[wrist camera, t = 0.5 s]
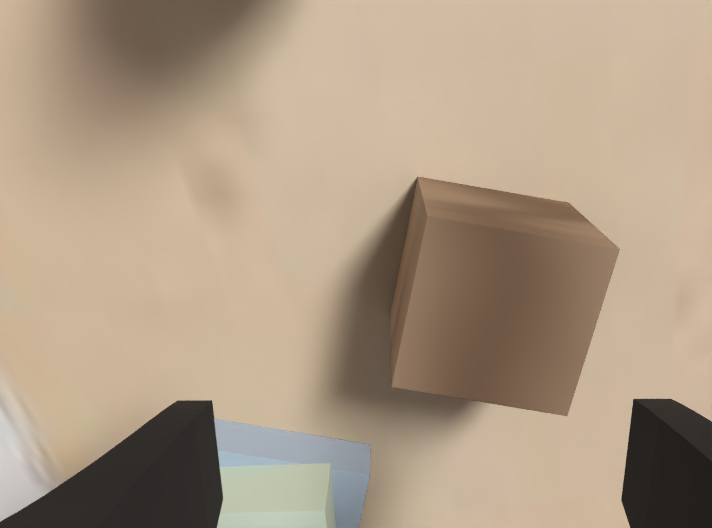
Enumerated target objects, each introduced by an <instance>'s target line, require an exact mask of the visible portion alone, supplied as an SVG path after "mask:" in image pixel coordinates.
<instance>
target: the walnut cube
mask: <svg viewBox="0 0 712 528" xmlns="http://www.w3.org/2000/svg"><path fill="white" fill-rule="evenodd" d="M619 250H620V249H619V248H618V247H617V246H616V245H615V244H614V243H613V242H611V241H610V240H609V239H608V238H607V237H606V236H605V235H604V234H603V233H602V232H600V231H599V230H598V229H597V228H596V227H595V226H594V225H593V224H592V223H590V222H589V221H588V220H587V219H586V218H585V217H584V216H583V215H582V214H581V213H579V212H578V211H577V210H576V209H575V208H574V207H573V206H572V205H571V204H569V203H567V202H561V201H555V200H550V199H544V198H538V197H532V196H526V195H521V194H515V193H509V192H503V191H497V190H492V189H486V188H480V187H474V186H468V185H463V184H457V183H451V182H445V181H439V180H434V179H428V178H422V177H417V182H416V187H415V192H414V197H413V202H412V207H411V212H410V217H409V222H408V227H407V232H406V237H405V242H404V247H403V252H402V257H401V262H400V267H399V272H398V277H397V282H396V287H395V292H394V297H393V302H392V307H391V312H390V348H391V383H392V387H395V388H401V389H407V390H413V391H419V392H425V393H431V394H437V395H443V396H449V397H455V398H461V399H467V400H473V401H479V402H485V403H491V404H497V405H503V406H509V407H515V408H521V409H527V410H533V411H539V412H545V413H551V414H557V415H563V416H567V415H568V412H569V409H570V406H571V402H572V399H573V396H574V393H575V390H576V386H577V383H578V380H579V377H580V374H581V371H582V367H583V364H584V361H585V358H586V355H587V352H588V348H589V345H590V342H591V339H592V336H593V332H594V329H595V326H596V323H597V320H598V317H599V313H600V310H601V307H602V304H603V301H604V297H605V294H606V291H607V288H608V285H609V282H610V278H611V275H612V272H613V269H614V266H615V263H616V259H617V256H618V253H619Z"/></svg>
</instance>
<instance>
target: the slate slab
mask: <svg viewBox="0 0 712 528" xmlns="http://www.w3.org/2000/svg"><path fill="white" fill-rule="evenodd" d="M214 422H215V431H216V439H217V448H218V457H219V465H220V467H231V466H260V465H289V464H318V463H331V472H332V483H333V494H334V505H335V516H336V527H337V528H359V525H360V520H361V515H362V511H363V506H364V501H365V496H366V492H367V487H368V482H369V477H370V453H371V445H370V444H364V443H358V442H352V441H346V440H340V439H334V438H328V437H322V436H316V435H310V434H304V433H298V432H292V431H286V430H280V429H274V428H268V427H262V426H256V425H249V424H243V423H237V422H231V421H225V420H219V419H214Z"/></svg>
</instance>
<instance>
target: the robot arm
mask: <svg viewBox="0 0 712 528" xmlns="http://www.w3.org/2000/svg"><path fill="white" fill-rule="evenodd" d="M222 502H223V491H222V483H221V474H220V465H219V457H218V448H217V439H216V431H215V422H214V413H213V405H212V401H177V402H175V403H173V404H172V405H170V406H169V407H167V408H166V409H165V410H163V411H162V412H160V413H159V414H158V415H156V416H155V417H154V418H152V419H151V420H150V421H148V422H147V423H146V424H144V425H143V426H142V427H141V428H139V429H138V430H137V431H135V432H134V433H133V434H131V435H130V436H129V437H127V438H126V439H125V440H123V441H122V442H121V443H119V444H118V445H117V446H115V447H114V448H113V449H111V450H110V451H108V452H107V453H106V454H104V455H103V456H102V457H100V458H99V459H98V460H96V461H95V462H93V463H92V464H90V465H89V466H88V467H86V468H85V469H83V470H82V471H80V472H79V473H77V474H76V475H74V476H73V477H71V478H70V479H68V480H67V481H65V482H64V483H62V484H61V485H60V486H58V487H57V488H55V489H54V490H52V491H51V492H49V493H48V494H46V495H45V496H43V497H41V498H40V499H38V500H37V501H35V502H33V503H32V504H30V505H28V506H27V507H25V508H23V509H22V510H20V511H18V512H17V513H15V514H13V515H11V516H10V517H8V518H6V519H4V520H3V521H1V522H0V528H217V525H218V520H219V516H220V511H221V507H222ZM622 503H623V506H624V509H625V513H626V516H627V519H628V522H629V525H630V528H712V422H711V421H710V420H708V419H706V418H705V417H703V416H701V415H700V414H698V413H696V412H695V411H693V410H691V409H689V408H688V407H686V406H684V405H682V404H680V403H678V402H676V401H674V400H672V399H634V400H633V408H632V416H631V425H630V433H629V441H628V450H627V458H626V466H625V475H624V483H623V491H622Z"/></svg>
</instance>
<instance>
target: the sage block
mask: <svg viewBox="0 0 712 528" xmlns="http://www.w3.org/2000/svg"><path fill="white" fill-rule="evenodd" d="M220 474H221V483H222V491H223V502H222V507H221V511H220V516H219V520H218V525H217V528H337V527H336V516H335V505H334V494H333V483H332V472H331V463H318V464H289V465H260V466H231V467H220Z"/></svg>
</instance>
